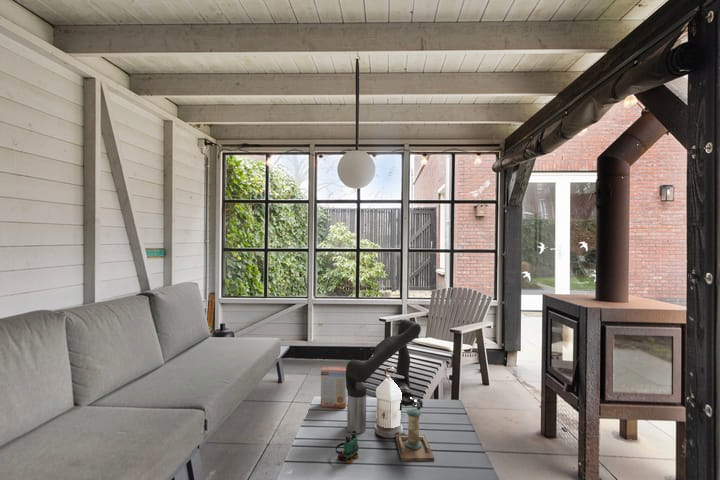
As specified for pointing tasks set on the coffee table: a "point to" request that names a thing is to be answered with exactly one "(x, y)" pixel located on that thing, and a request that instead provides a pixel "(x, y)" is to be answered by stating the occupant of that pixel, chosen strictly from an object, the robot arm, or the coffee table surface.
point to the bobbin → (413, 429)
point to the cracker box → (333, 387)
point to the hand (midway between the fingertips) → (409, 408)
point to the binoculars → (349, 448)
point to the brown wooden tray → (414, 455)
